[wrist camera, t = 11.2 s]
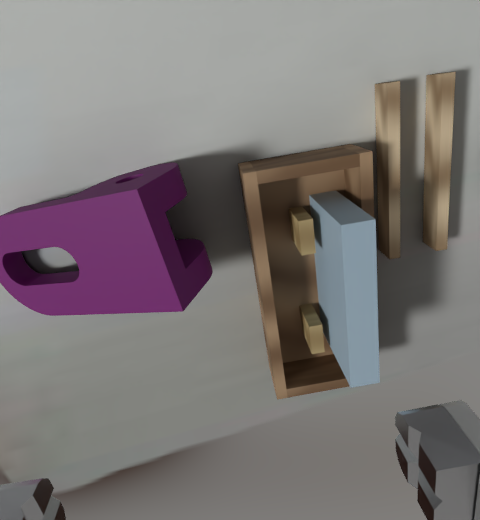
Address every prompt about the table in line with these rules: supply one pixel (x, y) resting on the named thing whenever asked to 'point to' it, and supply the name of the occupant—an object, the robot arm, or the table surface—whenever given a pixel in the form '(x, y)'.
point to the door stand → (434, 169)
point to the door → (347, 284)
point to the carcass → (298, 256)
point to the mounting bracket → (107, 249)
